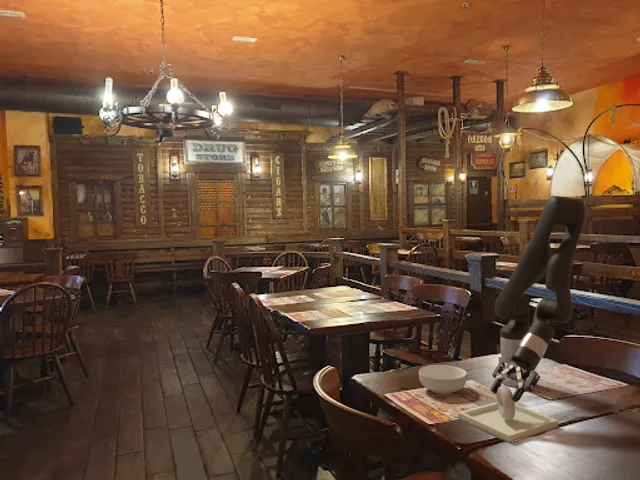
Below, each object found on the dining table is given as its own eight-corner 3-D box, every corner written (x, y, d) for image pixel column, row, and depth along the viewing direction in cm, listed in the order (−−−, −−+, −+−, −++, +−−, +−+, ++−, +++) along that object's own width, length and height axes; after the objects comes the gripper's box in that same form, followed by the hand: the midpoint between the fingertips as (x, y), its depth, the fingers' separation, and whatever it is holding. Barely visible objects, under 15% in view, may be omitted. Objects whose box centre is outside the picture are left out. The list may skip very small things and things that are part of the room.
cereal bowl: (448, 402, 171) (448, 382, 171) (409, 391, 184) (409, 371, 183) (476, 390, 182) (476, 370, 182) (437, 380, 195) (437, 361, 194)
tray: (458, 418, 157) (458, 412, 157) (504, 405, 166) (504, 399, 166) (509, 443, 140) (509, 436, 140) (558, 427, 149) (558, 420, 149)
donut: (518, 425, 148) (515, 392, 147) (506, 426, 148) (503, 393, 147) (507, 411, 158) (505, 380, 157) (496, 412, 158) (493, 381, 157)
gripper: (505, 340, 162) (478, 382, 157) (543, 349, 149) (515, 396, 144) (517, 353, 165) (491, 396, 160) (555, 364, 152) (529, 410, 147)
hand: (503, 396), depth 152 cm, fingers closed on donut, 7 cm apart
